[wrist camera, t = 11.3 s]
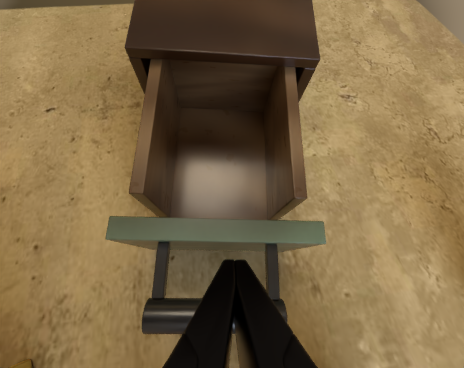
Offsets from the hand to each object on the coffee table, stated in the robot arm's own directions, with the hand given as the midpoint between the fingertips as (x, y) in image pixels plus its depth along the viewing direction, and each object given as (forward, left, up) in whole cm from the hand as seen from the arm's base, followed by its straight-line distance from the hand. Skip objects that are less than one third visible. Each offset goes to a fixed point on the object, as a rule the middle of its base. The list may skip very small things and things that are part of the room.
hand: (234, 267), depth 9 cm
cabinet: (+17, +12, -12) cm, 24 cm away
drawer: (+5, +4, -12) cm, 13 cm away
